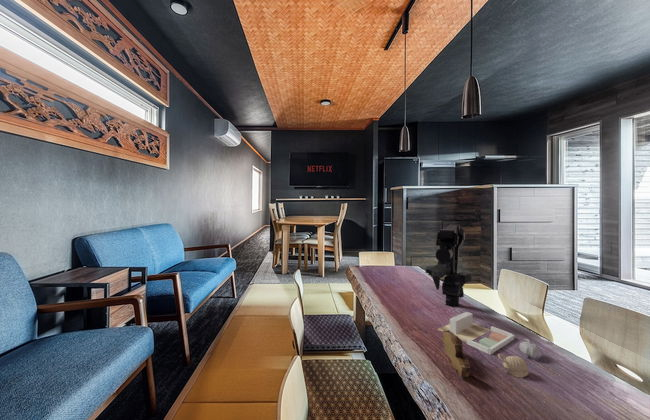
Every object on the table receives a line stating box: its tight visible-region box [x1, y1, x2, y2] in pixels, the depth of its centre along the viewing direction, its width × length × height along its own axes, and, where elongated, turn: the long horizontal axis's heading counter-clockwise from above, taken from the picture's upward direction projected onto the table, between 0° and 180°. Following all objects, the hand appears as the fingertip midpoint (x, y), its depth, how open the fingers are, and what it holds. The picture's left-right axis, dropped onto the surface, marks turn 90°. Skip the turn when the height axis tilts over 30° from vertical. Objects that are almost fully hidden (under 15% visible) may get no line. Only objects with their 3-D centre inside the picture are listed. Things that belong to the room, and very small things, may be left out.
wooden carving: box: [441, 330, 472, 378], centre depth 81 cm, size 16×5×10 cm, turn 179°
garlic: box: [518, 338, 540, 360], centre depth 86 cm, size 6×5×5 cm
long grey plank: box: [449, 311, 474, 334], centre depth 102 cm, size 12×2×5 cm, turn 122°
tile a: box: [488, 331, 508, 342], centre depth 94 cm, size 4×4×2 cm
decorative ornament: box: [497, 353, 530, 379], centre depth 78 cm, size 4×8×5 cm, turn 72°
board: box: [437, 322, 491, 344], centre depth 101 cm, size 17×12×2 cm
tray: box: [466, 325, 516, 356], centre depth 92 cm, size 18×8×3 cm, turn 122°
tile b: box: [478, 336, 498, 348], centre depth 90 cm, size 4×4×2 cm
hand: (447, 292), depth 113 cm, fingers open, 9 cm apart
